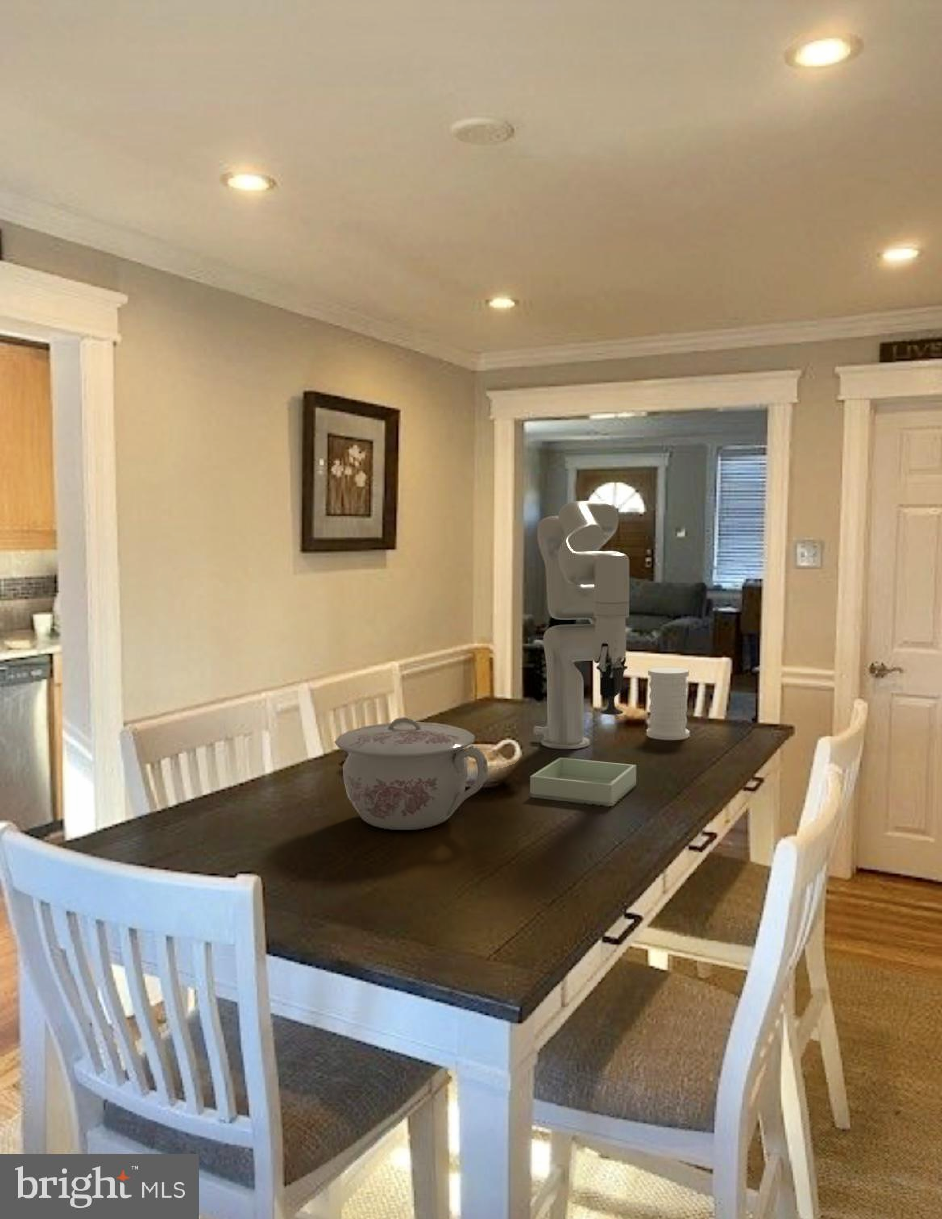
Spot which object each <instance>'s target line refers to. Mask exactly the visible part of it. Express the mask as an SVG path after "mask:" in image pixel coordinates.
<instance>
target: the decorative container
mask: <svg viewBox="0 0 942 1219" xmlns="http://www.w3.org/2000/svg"><path fill="white" fill-rule="evenodd" d="M647 675H648V676H649V677H650V681H649V683H648V686H649V689H650V692H649V695H648V696H649V697H648V698H649V700H650V704H649V706H648V708H649V709H648V710H649V712H650V716H649V718H648V721H649V723H650V724H649V726H650V727H649V728H647V729H646V736H647V737H648V738H651V739H654V740H659V741H660V740H662V741H679V740H686V739H689V738H690V736H691V735H690V734H691V733H690V732H691V731H690V730H688V729H687V728H686V727H687V725H686V724H687V722H688V719H687V714H686V713H687V711H688V706H687V700H688V694H687V688H688V683H687V677H688V676H689V669H686V668H681V667H670V666H669V667H668V666H664V667H652V668H648V669H647ZM688 737H689V738H688Z"/></svg>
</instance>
